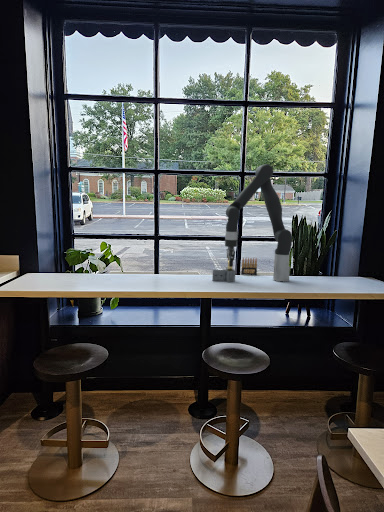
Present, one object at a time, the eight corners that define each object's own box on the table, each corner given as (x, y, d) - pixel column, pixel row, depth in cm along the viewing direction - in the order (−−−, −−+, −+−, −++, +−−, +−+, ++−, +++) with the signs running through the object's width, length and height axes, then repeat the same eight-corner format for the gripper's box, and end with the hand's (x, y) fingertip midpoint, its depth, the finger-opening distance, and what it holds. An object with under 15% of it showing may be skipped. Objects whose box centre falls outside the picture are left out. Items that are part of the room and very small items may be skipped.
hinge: (230, 277, 232) (231, 266, 231) (236, 281, 218) (236, 270, 217) (209, 277, 231) (210, 266, 230) (213, 281, 217) (213, 270, 216)
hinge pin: (231, 273, 222) (232, 259, 221) (232, 274, 219) (233, 260, 218) (226, 273, 222) (227, 259, 220) (227, 274, 219) (228, 260, 217)
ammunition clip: (256, 274, 243) (257, 257, 241) (256, 275, 241) (257, 258, 239) (241, 274, 243) (241, 257, 241) (241, 274, 241) (242, 257, 239)
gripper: (239, 240, 211) (238, 268, 213) (234, 237, 225) (233, 263, 227) (227, 240, 210) (226, 267, 212) (223, 237, 224) (222, 263, 226)
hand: (230, 265), depth 220 cm, fingers open, 4 cm apart
